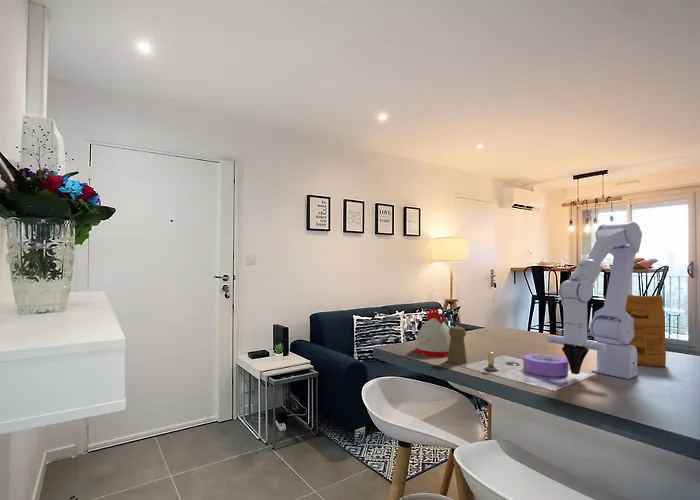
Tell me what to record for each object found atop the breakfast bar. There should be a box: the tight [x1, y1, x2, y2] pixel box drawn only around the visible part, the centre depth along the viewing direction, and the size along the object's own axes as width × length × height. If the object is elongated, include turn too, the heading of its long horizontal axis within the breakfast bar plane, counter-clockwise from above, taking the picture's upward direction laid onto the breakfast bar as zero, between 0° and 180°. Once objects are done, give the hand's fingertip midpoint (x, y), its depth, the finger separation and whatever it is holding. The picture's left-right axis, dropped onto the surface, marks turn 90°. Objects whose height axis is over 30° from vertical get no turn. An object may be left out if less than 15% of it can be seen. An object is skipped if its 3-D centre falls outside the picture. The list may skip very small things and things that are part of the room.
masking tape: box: [522, 353, 569, 376], centre depth 114 cm, size 12×12×4 cm
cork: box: [446, 326, 468, 365], centre depth 125 cm, size 6×6×11 cm
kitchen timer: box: [414, 308, 451, 358], centre depth 138 cm, size 14×14×15 cm
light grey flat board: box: [459, 355, 594, 392], centre depth 115 cm, size 28×24×1 cm
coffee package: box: [620, 294, 667, 368], centre depth 127 cm, size 10×12×22 cm
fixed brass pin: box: [486, 351, 496, 371], centre depth 115 cm, size 3×3×5 cm
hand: (575, 373), depth 108 cm, fingers closed
